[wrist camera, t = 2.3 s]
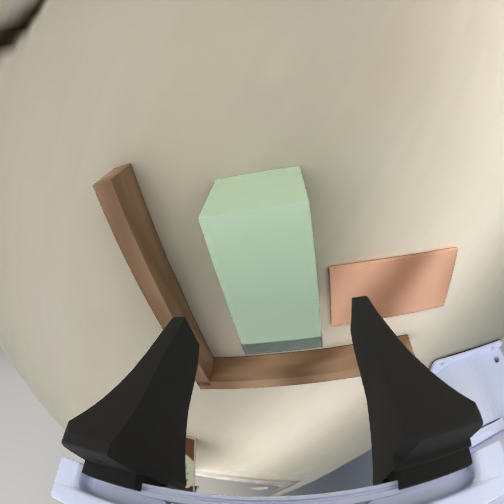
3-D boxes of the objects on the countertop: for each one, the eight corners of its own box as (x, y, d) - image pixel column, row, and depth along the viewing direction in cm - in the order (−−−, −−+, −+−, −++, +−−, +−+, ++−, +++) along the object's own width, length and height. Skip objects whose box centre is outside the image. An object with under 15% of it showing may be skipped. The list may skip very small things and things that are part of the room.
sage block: (299, 165, 15) (309, 201, 11) (315, 294, 20) (322, 346, 16) (215, 179, 16) (197, 218, 12) (249, 302, 21) (245, 354, 17)
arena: (467, 118, 12) (493, 129, 10) (431, 337, 22) (440, 358, 20) (113, 168, 16) (92, 185, 13) (205, 366, 26) (200, 389, 24)
